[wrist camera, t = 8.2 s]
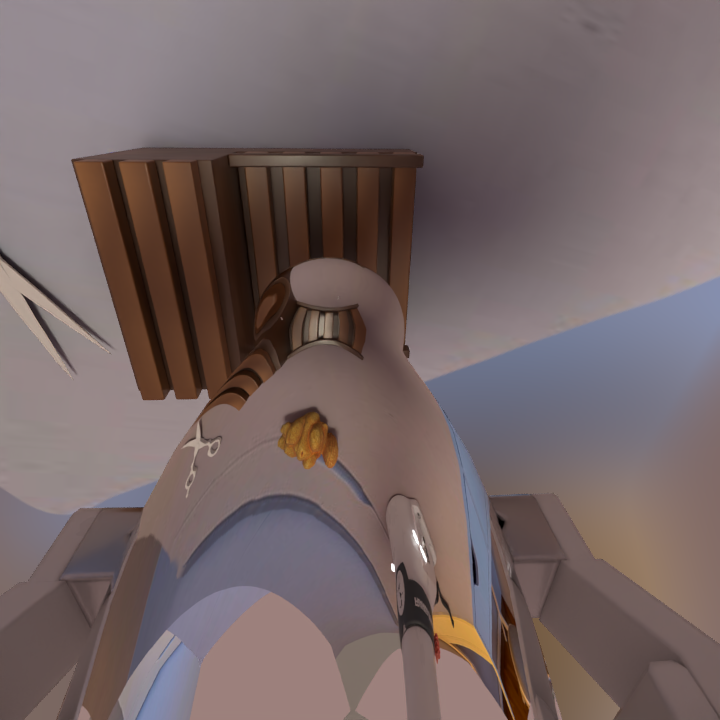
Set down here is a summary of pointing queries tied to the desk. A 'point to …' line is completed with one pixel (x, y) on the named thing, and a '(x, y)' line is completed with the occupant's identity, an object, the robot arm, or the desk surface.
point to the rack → (233, 243)
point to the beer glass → (317, 543)
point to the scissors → (15, 284)
